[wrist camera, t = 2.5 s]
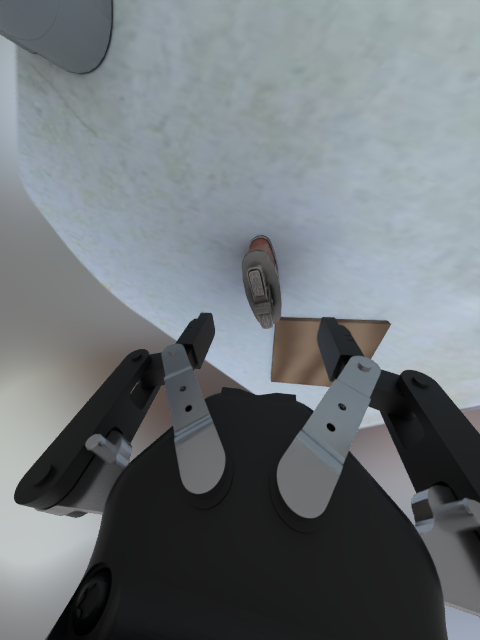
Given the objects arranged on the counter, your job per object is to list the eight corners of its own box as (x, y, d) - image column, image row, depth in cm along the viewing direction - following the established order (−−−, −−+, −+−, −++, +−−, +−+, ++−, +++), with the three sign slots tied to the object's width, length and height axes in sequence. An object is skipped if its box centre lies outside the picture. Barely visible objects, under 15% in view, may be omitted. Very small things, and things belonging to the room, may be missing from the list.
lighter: (281, 292, 24) (287, 338, 16) (258, 296, 25) (253, 342, 17) (272, 231, 20) (273, 254, 12) (244, 239, 21) (229, 265, 13)
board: (271, 378, 36) (271, 381, 36) (275, 317, 27) (276, 320, 26) (351, 385, 34) (353, 388, 33) (387, 321, 25) (391, 324, 24)
